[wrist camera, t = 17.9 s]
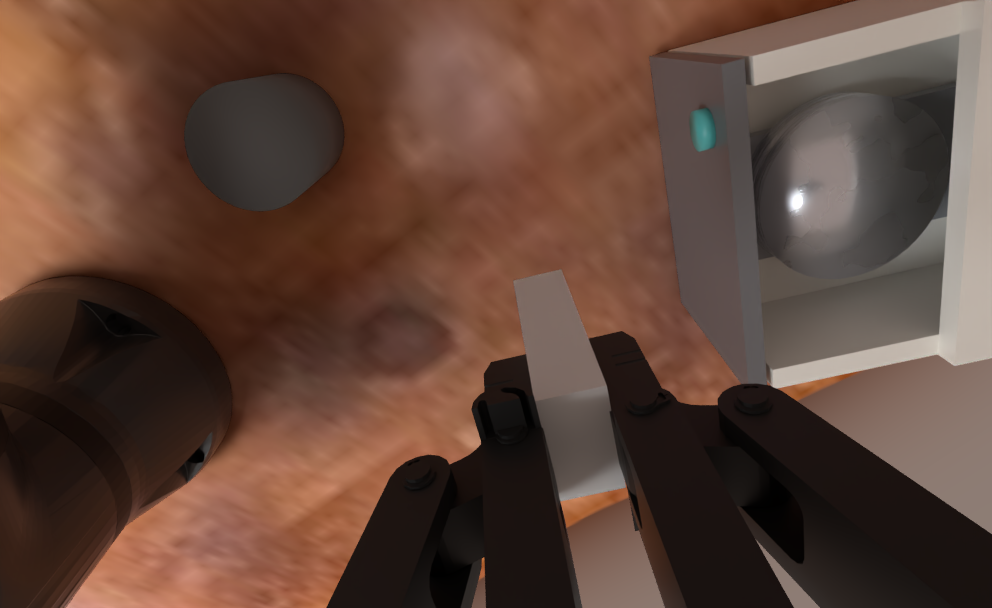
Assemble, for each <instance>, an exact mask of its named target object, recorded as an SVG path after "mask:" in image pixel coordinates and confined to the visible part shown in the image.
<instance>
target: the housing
mask: <svg viewBox="0 0 992 608" xmlns="http://www.w3.org/2000/svg"><path fill="white" fill-rule="evenodd" d="M668 52H669V53H681V54H694V55H707V56H720V57H733V58H744V60H745V75H746V89H747V103H748V118H749V132H750V133H753V132H757V131H761V130H765V129H769V128H772V127H773V126H774V125H775V124H776V123H777V122H778V121H779V120H780V119H781V118H783V117H784V116H785V115H787V114H788V113H789V112H791V111H792V110H794V109H795V108H797V107H799V106H800V105H802V104H804V103H806V102H808V101H810V100H812V99H815V98H818V97H821V96H824V95H827V94H832V93H838V92H862V93H870V94H876V95H883V96H890V97H897V96H901V95H905V94H909V93H913V92H917V91H921V90H925V89H929V88H933V87H937V86H941V85H945V84H949V83H953V82H956V96H955V110H954V125H953V139H952V154H951V168H950V182H949V197H948V211H947V217H943V218H938V219H934V220H931V222H930V223H929V225H928V226H927V228H926V229H925V230H924V231H923V233H922V234H921V235H920V236H919V237H918V239H917V240H916V241H915V242H914V243H913V244H911V245H910V246H909V247H908V248H907V249H906V250H905V251H903V252H902V253H901V254H900V255H899V256H897V257H896V258H894V259H893V260H891V261H889V262H888V263H886V264H884V265H882V266H880V267H879V268H877V269H874V270H872V271H869V272H867V273H864V274H861V275H857V276H854V277H848V278H842V279H820V278H814V277H810V276H806V275H804V274H801V273H798V272H796V271H794V270H793V269H791V268H789V267H788V266H786V265H785V264H784V263H782V262H781V261H780V260H778V259H777V258H776V257H775V256H774V257H769V258H765V259H761V260H758V262H759V277H760V291H761V306H762V320H763V335H764V349H765V364H766V378H767V381H768V382H769V384H770V385H771V386H772V387H774V388H781V387H786V386H791V385H795V384H800V383H805V382H809V381H814V380H819V379H824V378H828V377H833V376H838V375H842V374H847V373H852V372H857V371H861V370H866V369H871V368H875V367H880V366H885V365H889V364H894V363H899V362H903V361H908V360H913V359H918V358H923V357H927V356H932V355H937V354H938V355H939V356H941V357H942V358H944V359H945V360H947V361H948V362H949V363H951V364H952V365H954V366H957V365H961V364H966V363H971V362H976V361H981V360H985V359H990V358H992V0H857V1H853V2H849V3H846V4H842V5H838V6H834V7H830V8H827V9H823V10H819V11H815V12H812V13H808V14H804V15H800V16H796V17H793V18H789V19H785V20H781V21H778V22H774V23H770V24H766V25H762V26H759V27H755V28H751V29H747V30H743V31H740V32H736V33H732V34H728V35H725V36H721V37H717V38H713V39H709V40H706V41H702V42H698V43H694V44H691V45H687V46H683V47H679V48H675V49H672V50H668Z"/></svg>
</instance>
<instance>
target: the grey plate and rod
mask: <svg viewBox="0 0 992 608" xmlns="http://www.w3.org/2000/svg"><path fill="white" fill-rule="evenodd" d="M649 59H650V67H651V75H652V82H653V90H654V98H655V105H656V113H657V121H658V128H659V136H660V143H661V151H662V159H663V166H664V174H665V182H666V189H667V197H668V205H669V212H670V220H671V228H672V235H673V243H674V251H675V258H676V266H677V273H678V281H679V289H680V296H681V303H682V304H683V305H684V307H685V308H686V309H687V311H688V312H689V314H690V315H691V316H692V318H693V319H694V320H695V322H696V323H697V324H698V326H699V327H700V328H701V330H702V331H703V332H704V334H705V335H706V337H707V338H708V339H709V341H710V342H711V343H712V345H713V346H714V347H715V349H716V350H717V351H718V353H719V354H720V355H721V357H722V358H723V360H724V361H725V362H726V364H727V365H728V366H729V368H730V369H731V370H732V372H733V373H734V374H735V376H736V377H737V378H738V380H739V381H740V383H741V384H755V383H758V384H763V385H767V378H766V364H765V349H764V335H763V320H762V306H761V291H760V277H759V262H758V260H761V259H765V258H769V257H774V256H773V255H772V254H771V253H769V252H768V251H767V250H765V249H764V248H763V247H762V246H761V245H760V244H759V243H758V242H757V234H756V219H755V205H754V190H753V176H752V161H751V157H752V155H753V154H754V152H755V150H756V148H757V146H758V145H759V144H760V142H761V141H762V139H763V138H764V136H765V135H766V134H767V133H768V131H769V130H770V129H771V128H769V129H765V130H761V131H757V132H753V133H750V132H749V118H748V103H747V89H746V75H745V60H744V58H733V57H720V56H707V55H694V54H681V53H669V52H664V53H660V54H656V55H653V56H649ZM955 96H956V82H953V83H949V84H945V85H941V86H937V87H933V88H929V89H925V90H921V91H917V92H913V93H909V94H905V95H901V96H897V97H895V98H899V99H903V100H906V101H908V102H910V103H913V104H915V105H916V106H918V107H919V108H921V109H923V110H924V111H925V112H926V113H927V114H928V115H929V116H931V117H932V118H933V120H934V121H935V122H936V124H937V125H938V126H939V128H940V130H941V132H942V134H943V136H944V139H945V142H946V145H947V149H948V156H949V174H948V181H947V186H946V189H945V193H944V196H943V199H942V201H941V203H940V206H939V208H938V210H937V212H936V214H935V215H934V217H933V219H932V220H934V219H938V218H943V217H947V211H948V197H949V182H950V168H951V154H952V139H953V125H954V110H955Z"/></svg>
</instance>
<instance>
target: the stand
mask: <svg viewBox="0 0 992 608" xmlns="http://www.w3.org/2000/svg"><path fill="white" fill-rule="evenodd" d="M184 140H185V148H186V152H187V156H188V158H189V161H190V164H191V166H192V168H193V170H194V171H195V173H196V175H197V176H198V178H199V179H200V180H201V182H202V183H203V184H204V185H205V186H206V187H207V188H208V189H209V190H210V191H211V192H212V193H213V194H215V195H216V196H217V197H219V198H220V199H222V200H223V201H225V202H227V203H229V204H231V205H233V206H235V207H238V208H242V209H246V210H251V211H269V210H275V209H278V208H281V207H283V206H285V205H287V204H289V203H291V202H292V201H294V200H295V199H296V198H297V197H299V196H300V195H301V194H302V193H303V192H305V191H306V190H307V189H308V188H309V187H311V186H312V185H313V184H314V183H315V182H316V181H318V180H319V179H320V178H321V177H322V176H324V175H325V174H326V173H327V172H328V171H329V170H330V169H331V168H332V167H333V166H334V165H335V164H336V162H337V160H338V159H339V157H340V154H341V152H342V149H343V145H344V126H343V121H342V118H341V115H340V112H339V110H338V108H337V106H336V104H335V103H334V101H333V100H332V99H331V97H330V96H329V95H328V94H327V93H326V92H325V91H324V90H323V89H322V88H321V87H320V86H319V85H317V84H316V83H314V82H313V81H311V80H309V79H307V78H304V77H302V76H299V75H294V74H287V73H279V74H272V75H266V76H260V77H254V78H248V79H242V80H236V81H231V82H226V83H222V84H219V85H216V86H214V87H212V88H210V89H208V90H207V91H206V92H204V93H203V94H202V95H201V96H200V97H199V98H198V99H197V100H196V101H195V103H194V104H193V106H192V107H191V109H190V111H189V114H188V116H187V120H186V124H185V131H184Z"/></svg>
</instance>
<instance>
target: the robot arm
mask: <svg viewBox="0 0 992 608" xmlns="http://www.w3.org/2000/svg"><path fill="white" fill-rule="evenodd" d="M513 282H514V288H515V294H516V300H517V305H518V311H519V317H520V322H521V328H522V334H523V340H524V345H525V351H526V354H525V355H521V356H516V357H512V358H508V359H503V360H499V361H494V362H491V363H490V365H489V367H488V368H487V370H486V371H485V373H484V386H485V388H484V389H485V392H484V393H482V394H480V395H479V396H478V397H477V399H476V400H475V401H474V402H473V406H472V413H473V416H474V419H475V423H476V426H477V429H478V432H479V436H480V439H481V445H480V446H479V447H478V448H477V449H476V450H475V451H474V452H473V453H471V454H470V455H468V456H466V457H465V458H463V459H461V460H459V461H457V462H454V463H452V464H450V465H449V463H448V461H447V460H446V459H444V458H442V457H440V456H436V455H425V456H420V457H416V458H414V459H412V460H409V461H407V462H405V463H404V464H403V465H401V466H400V467H399V468H397V469H396V470H395V472H394V473H393V474H392V476H391V477H390V479H389V481H388V483H387V485H386V487H385V489H384V491H383V493H382V495H381V497H380V499H379V501H378V503H377V505H376V507H375V509H374V512H373V514H372V516H371V518H370V520H369V522H368V524H367V526H366V528H365V530H364V532H363V534H362V536H361V538H360V540H359V542H358V544H357V546H356V548H355V550H354V552H353V554H352V556H351V559H350V561H349V563H348V565H347V567H346V569H345V571H344V573H343V575H342V577H341V579H340V581H339V583H338V585H337V587H336V589H335V591H334V593H333V595H332V597H331V599H330V601H329V604H328V606H327V608H471V607H472V603H473V599H474V595H475V591H476V587H477V583H478V579H479V575H480V571H481V562H482V558H483V557H485V589H486V608H582V604H581V600H580V594H579V589H578V584H577V579H576V574H575V569H574V564H573V560H572V554H571V549H570V544H569V539H568V534H567V529H566V524H565V519H564V515H563V511H562V507H561V503H560V501H564V500H569V499H573V498H578V497H583V496H588V495H592V494H597V493H602V492H607V491H611V490H616V489H621V488H626V486H625V482H626V485H627V489H628V494H629V500H630V505H631V511H632V516H633V521H634V526H635V531H638V530H639V532H640V534H641V538H642V541H643V543H644V546H645V549H646V552H647V555H648V558H649V561H650V564H651V567H652V570H653V573H654V576H655V579H656V582H657V585H658V588H659V591H660V594H661V597H662V600H663V603H664V606H665V608H794V607H793V605H792V604H791V602H790V600H789V598H788V596H787V595H786V593H785V591H784V590H783V588H782V586H781V584H780V582H779V581H778V579H777V577H776V575H775V573H774V572H773V570H772V568H771V566H770V564H769V563H768V561H767V559H766V558H765V556H764V554H763V552H762V550H761V549H760V547H759V545H758V543H757V541H758V542H759V543H760V544H761V545H762V546H763V547H764V548H765V549H766V551H767V552H768V553H769V554H770V555H771V556H772V557H773V558H774V559H775V560H776V561H777V562H778V563H779V564H780V565H781V566H782V568H783V569H784V570H785V571H786V572H787V573H788V574H789V575H790V576H791V577H792V578H793V579H794V580H795V581H796V582H797V583H798V584H799V586H800V587H801V588H802V589H803V590H804V591H805V592H806V593H807V594H808V595H809V596H810V597H811V598H812V599H813V600H814V601H815V603H816V604H817V605H818V606H819V607H820V608H992V534H991V533H989V532H988V531H986V530H985V529H983V528H982V527H980V526H979V525H978V524H976V523H975V522H973V521H972V520H970V519H969V518H967V517H966V516H964V515H963V514H961V513H960V512H958V511H957V510H956V509H954V508H952V507H951V506H950V505H948V504H946V503H945V502H944V501H942V500H941V499H939V498H938V497H936V496H935V495H934V494H932V493H930V492H929V491H927V490H926V489H925V488H923V487H922V486H920V485H919V484H917V483H916V482H914V481H913V480H911V479H910V478H909V477H907V476H906V475H904V474H903V473H901V472H900V471H898V470H897V469H895V468H894V467H892V466H891V465H890V464H888V463H887V462H885V461H884V460H882V459H881V458H879V457H878V456H876V455H875V454H873V453H872V452H870V451H869V450H868V449H866V448H865V447H863V446H862V445H860V444H859V443H857V442H856V441H854V440H853V439H851V438H850V437H848V436H847V435H846V434H844V433H843V432H841V431H840V430H838V429H837V428H835V427H834V426H832V425H831V424H829V423H828V422H826V421H825V420H824V419H822V418H821V417H819V416H818V415H816V414H815V413H813V412H812V411H810V410H809V409H807V408H806V407H804V406H803V405H802V404H800V403H799V402H797V401H796V400H794V399H793V398H791V397H790V396H788V395H787V394H785V393H784V392H783V391H781V390H778V389H776V388H774V387H772V386H768V385H763V384H758V383H755V384H741V385H737V386H733V387H731V388H729V389H727V390H725V391H724V392H722V394H721V395H720V397H719V398H718V405H689V404H685V403H680V402H678V401H677V399H676V398H675V397H674V396H673V395H672V394H671V393H670V392H669V391H667V390H665V389H662V388H661V386H660V384H659V382H658V380H657V379H656V377H655V375H654V373H653V371H652V369H651V368H650V366H649V364H648V362H647V360H646V359H645V357H644V355H643V353H642V351H641V349H640V347H639V346H638V344H637V342H636V340H635V338H633V337H631V336H629V335H628V334H626V333H624V332H622V331H620V332H616V333H611V334H607V335H603V336H598V337H594V338H589V339H588V336H587V334H586V331H585V329H584V326H583V324H582V321H581V318H580V316H579V313H578V311H577V308H576V306H575V303H574V301H573V298H572V296H571V293H570V290H569V288H568V285H567V283H566V280H565V278H564V275H563V273H562V270H561V269H560V270H556V271H552V272H547V273H543V274H539V275H535V276H530V277H526V278H522V279H518V280H513ZM231 413H232V395H231V388H230V383H229V380H228V376H227V374H226V371H225V368H224V366H223V364H222V362H221V360H220V358H219V356H218V355H217V353H216V351H215V350H214V348H213V347H212V345H211V344H210V343H209V341H208V340H207V339H206V337H205V336H204V335H203V334H202V333H201V332H200V331H199V329H198V328H197V327H196V326H195V325H194V324H193V323H191V322H190V321H189V320H188V319H187V318H186V317H185V316H183V315H182V314H181V313H180V312H178V311H177V310H176V309H174V308H173V307H171V306H170V305H168V304H167V303H165V302H164V301H162V300H160V299H158V298H157V297H155V296H153V295H151V294H149V293H147V292H145V291H142V290H140V289H137V288H135V287H132V286H129V285H126V284H123V283H120V282H116V281H112V280H108V279H103V278H96V277H85V276H69V277H58V278H52V279H47V280H43V281H40V282H37V283H34V284H32V285H29V286H27V287H25V288H23V289H21V290H19V291H17V292H15V293H14V294H12V295H10V296H8V297H6V298H4V299H3V300H1V301H0V608H66V607H67V605H68V604H69V603H70V601H71V600H72V598H73V597H74V596H75V594H76V593H77V591H78V590H79V589H80V587H81V586H82V584H83V583H84V582H85V580H86V579H87V578H88V576H89V575H90V574H91V572H92V571H93V569H94V568H95V567H96V565H97V564H98V563H99V561H100V560H101V559H102V557H103V556H104V554H105V553H106V552H107V550H108V549H109V547H110V546H111V545H112V543H113V542H114V541H115V539H116V538H117V537H118V535H119V534H120V533H121V531H122V530H123V529H124V527H125V526H126V525H128V524H129V523H130V522H132V521H133V520H135V519H136V518H138V517H139V516H141V515H142V514H144V513H145V512H146V511H148V510H149V509H151V508H152V507H154V506H155V505H157V504H158V503H159V502H161V501H162V500H164V499H165V498H167V497H168V496H170V495H171V494H172V493H174V492H175V491H177V490H178V489H180V488H181V487H183V486H184V485H185V484H187V483H188V482H189V481H191V480H192V479H193V478H194V477H195V476H196V475H197V474H198V473H199V472H200V471H201V470H202V469H203V468H204V467H205V465H206V464H207V463H208V461H209V460H210V458H211V457H212V455H213V454H214V452H215V451H216V449H217V448H218V446H219V445H220V443H221V442H222V440H223V438H224V436H225V434H226V432H227V429H228V427H229V423H230V419H231ZM624 479H625V481H624ZM755 539H756V540H757V541H756V540H755Z"/></svg>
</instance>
